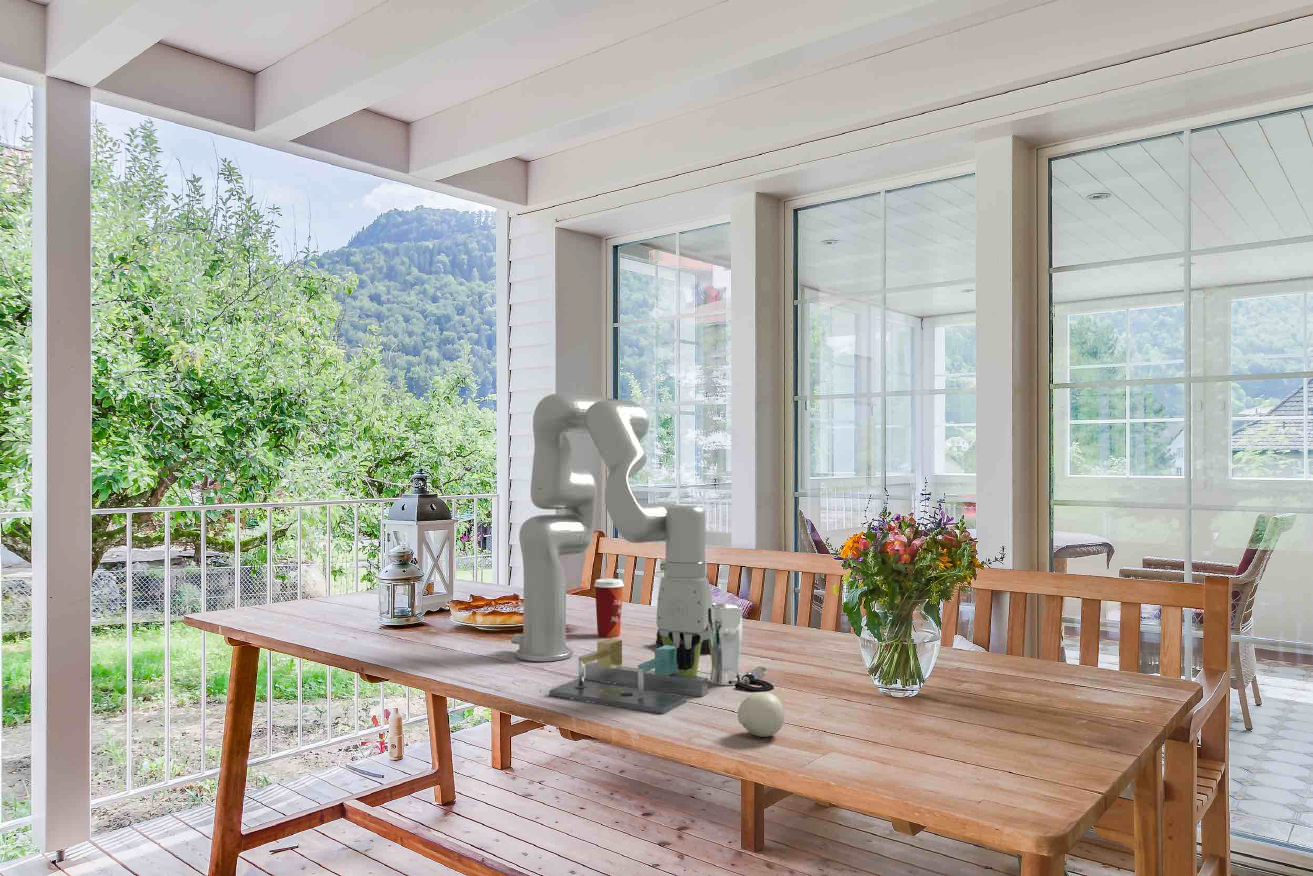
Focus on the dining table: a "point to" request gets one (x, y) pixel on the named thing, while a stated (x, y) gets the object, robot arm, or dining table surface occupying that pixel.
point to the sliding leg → (659, 665)
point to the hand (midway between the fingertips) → (685, 668)
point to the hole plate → (620, 696)
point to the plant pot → (697, 648)
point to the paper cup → (608, 606)
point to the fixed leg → (602, 657)
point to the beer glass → (725, 643)
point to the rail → (649, 679)
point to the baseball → (761, 714)
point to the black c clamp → (754, 681)
